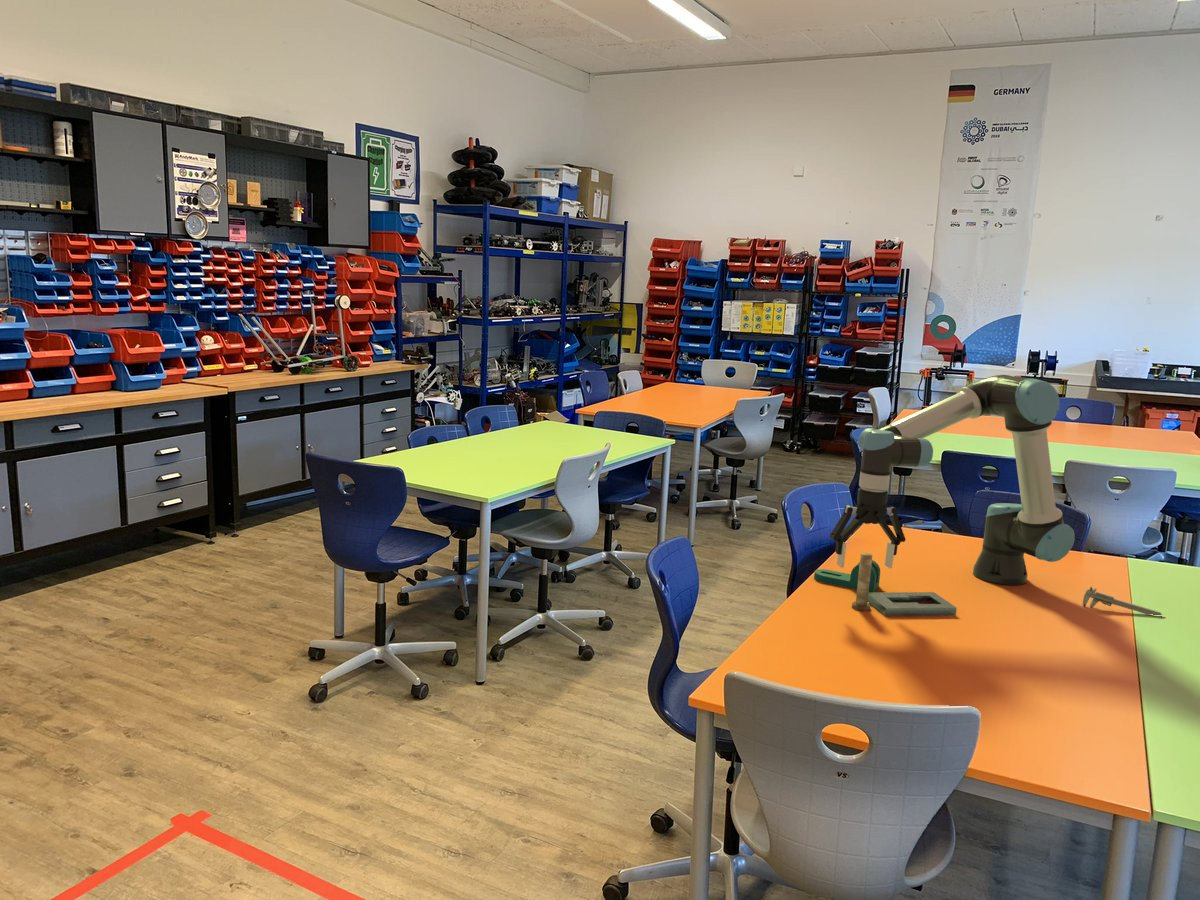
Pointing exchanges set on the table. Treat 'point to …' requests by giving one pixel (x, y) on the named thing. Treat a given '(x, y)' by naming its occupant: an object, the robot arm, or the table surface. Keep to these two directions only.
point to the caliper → (1113, 602)
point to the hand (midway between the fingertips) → (864, 566)
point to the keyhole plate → (911, 604)
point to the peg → (863, 583)
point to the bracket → (848, 577)
